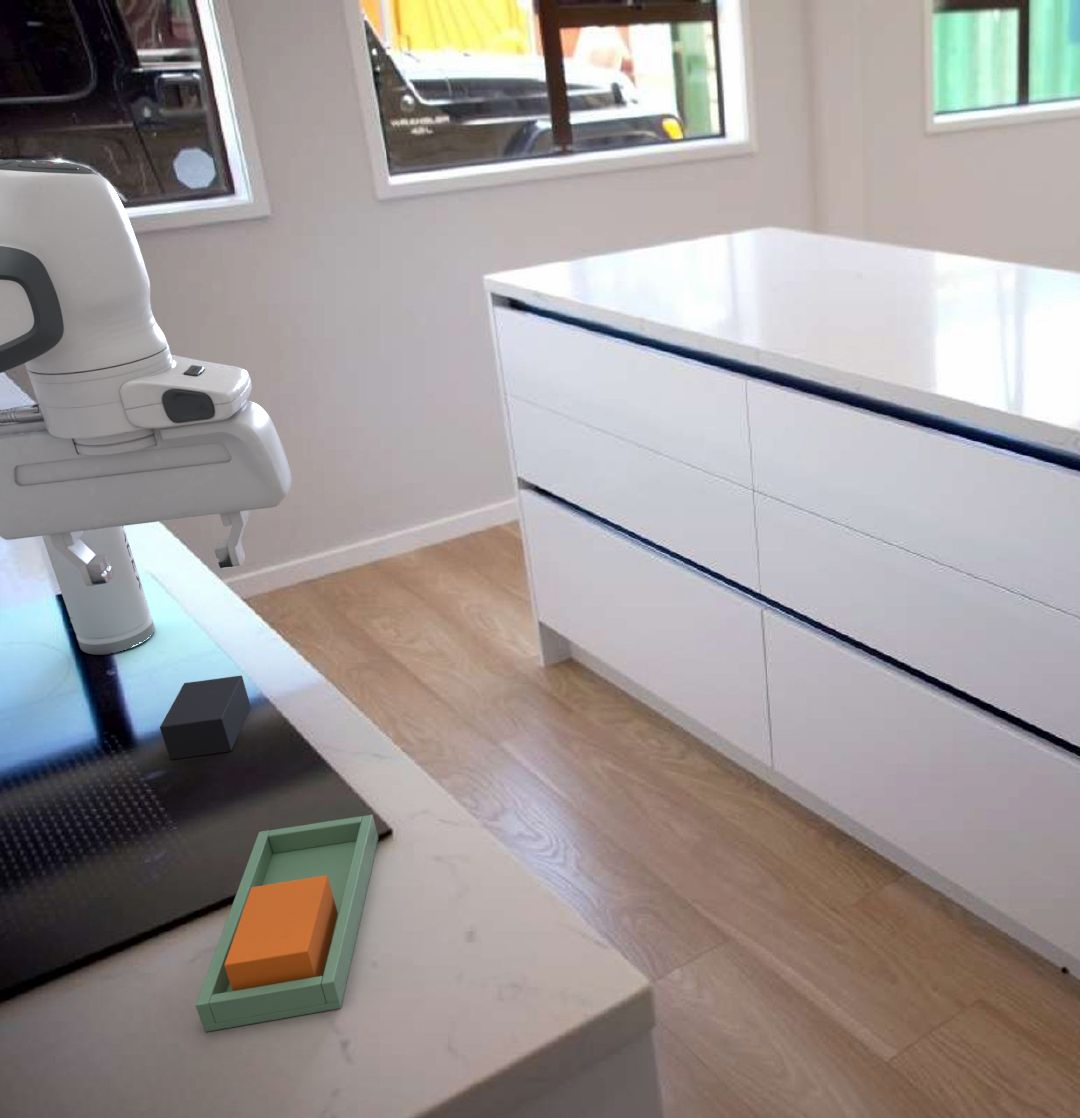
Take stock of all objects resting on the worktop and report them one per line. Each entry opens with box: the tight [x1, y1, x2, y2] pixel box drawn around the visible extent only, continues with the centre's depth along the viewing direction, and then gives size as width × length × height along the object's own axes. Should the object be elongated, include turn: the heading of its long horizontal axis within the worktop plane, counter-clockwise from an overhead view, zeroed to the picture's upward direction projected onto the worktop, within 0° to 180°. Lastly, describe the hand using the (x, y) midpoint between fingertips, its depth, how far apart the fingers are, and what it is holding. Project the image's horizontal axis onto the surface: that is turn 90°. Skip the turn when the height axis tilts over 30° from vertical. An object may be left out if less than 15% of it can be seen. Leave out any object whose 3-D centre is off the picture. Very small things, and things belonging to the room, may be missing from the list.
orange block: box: [224, 875, 338, 991], centre depth 76 cm, size 4×7×3 cm, turn 11°
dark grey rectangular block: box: [159, 675, 251, 761], centre depth 101 cm, size 4×7×3 cm, turn 11°
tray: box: [195, 814, 379, 1033], centre depth 79 cm, size 7×16×2 cm, turn 11°
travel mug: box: [41, 526, 156, 656], centre depth 113 cm, size 6×7×20 cm
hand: (167, 573), depth 95 cm, fingers open, 8 cm apart
